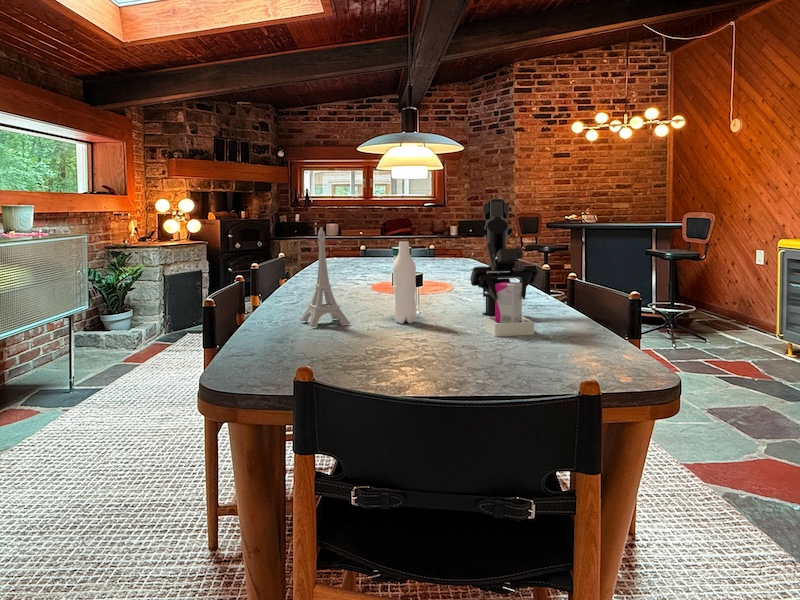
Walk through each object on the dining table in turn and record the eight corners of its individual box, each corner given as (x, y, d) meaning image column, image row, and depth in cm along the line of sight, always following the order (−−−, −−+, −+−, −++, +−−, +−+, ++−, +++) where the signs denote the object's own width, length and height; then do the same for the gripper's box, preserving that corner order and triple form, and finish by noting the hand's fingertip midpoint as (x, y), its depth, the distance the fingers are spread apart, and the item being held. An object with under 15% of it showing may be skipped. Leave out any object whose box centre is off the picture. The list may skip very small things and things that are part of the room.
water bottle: (414, 324, 194) (413, 242, 190) (391, 324, 195) (389, 242, 191) (418, 320, 201) (417, 240, 197) (396, 319, 202) (394, 241, 198)
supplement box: (522, 322, 181) (522, 282, 179) (513, 325, 176) (513, 284, 174) (504, 320, 184) (504, 281, 182) (494, 324, 179) (494, 283, 177)
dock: (484, 328, 185) (484, 317, 184) (520, 327, 186) (521, 315, 186) (495, 336, 174) (495, 323, 173) (533, 334, 175) (534, 322, 175)
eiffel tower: (298, 322, 201) (294, 227, 196) (338, 319, 206) (335, 226, 202) (309, 329, 189) (305, 228, 184) (352, 325, 194) (349, 227, 190)
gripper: (472, 238, 179) (483, 282, 170) (536, 236, 181) (550, 280, 172) (466, 263, 188) (475, 306, 179) (527, 261, 190) (539, 304, 181)
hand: (510, 298), depth 177 cm, fingers closed on supplement box, 8 cm apart
